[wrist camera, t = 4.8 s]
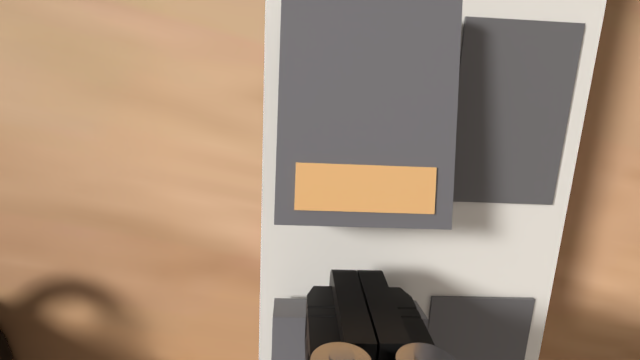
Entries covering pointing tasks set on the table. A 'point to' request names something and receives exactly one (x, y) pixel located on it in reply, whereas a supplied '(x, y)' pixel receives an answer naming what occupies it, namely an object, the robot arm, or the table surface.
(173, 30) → the table surface
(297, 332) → the plate
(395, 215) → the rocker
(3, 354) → the mug
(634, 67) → the table surface
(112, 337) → the table surface
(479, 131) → the power strip
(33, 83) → the table surface
